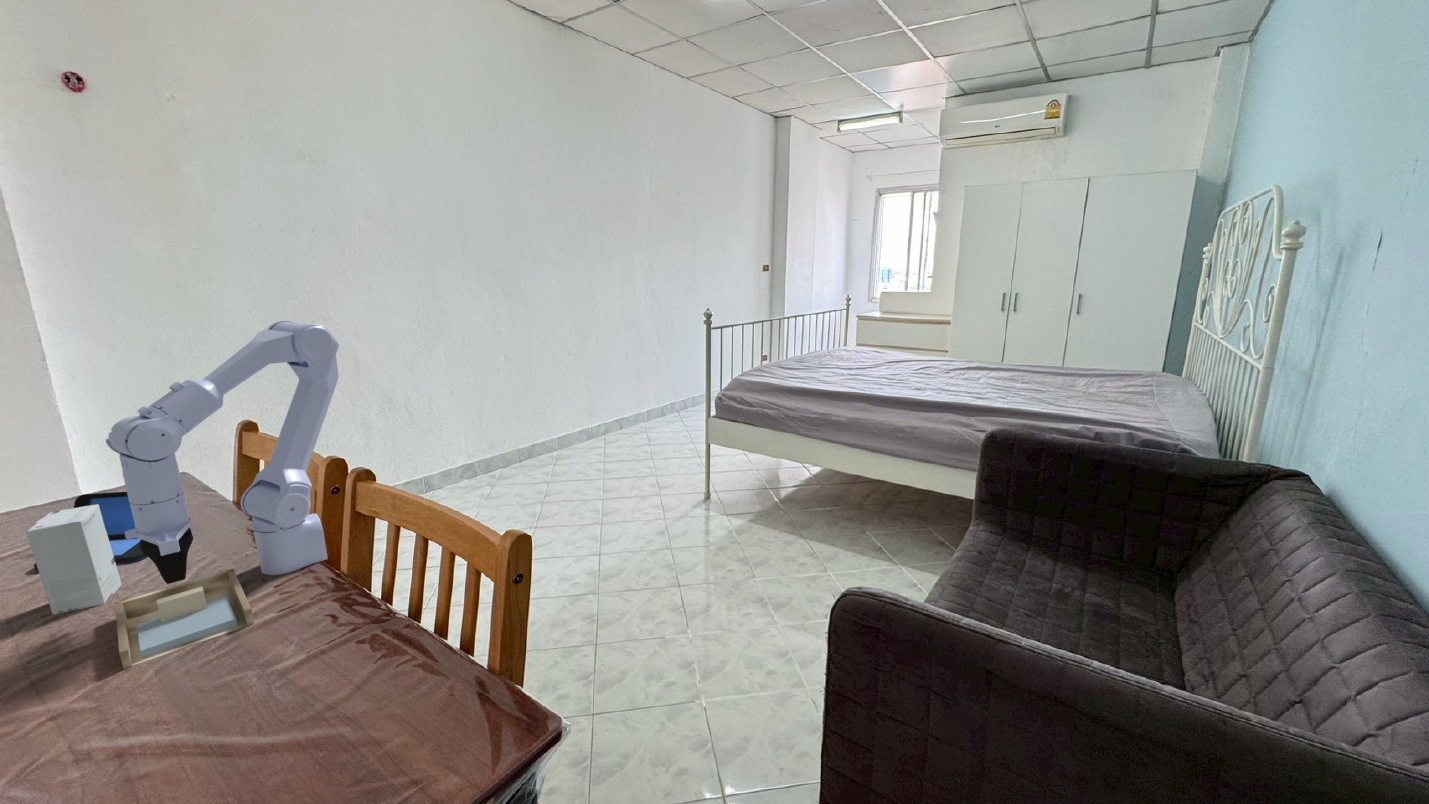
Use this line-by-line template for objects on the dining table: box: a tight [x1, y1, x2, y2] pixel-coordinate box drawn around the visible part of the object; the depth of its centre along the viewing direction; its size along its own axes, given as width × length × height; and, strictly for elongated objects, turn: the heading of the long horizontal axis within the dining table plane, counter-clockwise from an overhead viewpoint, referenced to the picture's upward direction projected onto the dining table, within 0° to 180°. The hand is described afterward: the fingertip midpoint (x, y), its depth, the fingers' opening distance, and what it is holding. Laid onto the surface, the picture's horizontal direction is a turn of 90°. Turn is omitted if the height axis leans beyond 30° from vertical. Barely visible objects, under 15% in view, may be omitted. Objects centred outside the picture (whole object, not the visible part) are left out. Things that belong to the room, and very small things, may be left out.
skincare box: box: [25, 504, 122, 616], centre depth 88 cm, size 8×6×15 cm
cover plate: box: [137, 586, 237, 659], centre depth 82 cm, size 10×8×4 cm
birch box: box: [114, 568, 255, 670], centre depth 84 cm, size 14×16×4 cm
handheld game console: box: [33, 491, 149, 572], centre depth 104 cm, size 16×13×9 cm
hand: (175, 580), depth 86 cm, fingers closed
